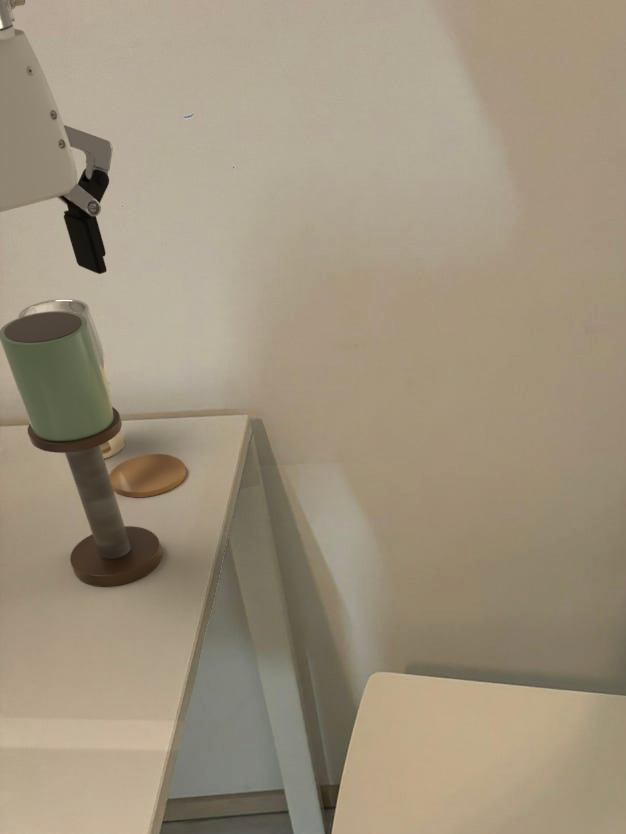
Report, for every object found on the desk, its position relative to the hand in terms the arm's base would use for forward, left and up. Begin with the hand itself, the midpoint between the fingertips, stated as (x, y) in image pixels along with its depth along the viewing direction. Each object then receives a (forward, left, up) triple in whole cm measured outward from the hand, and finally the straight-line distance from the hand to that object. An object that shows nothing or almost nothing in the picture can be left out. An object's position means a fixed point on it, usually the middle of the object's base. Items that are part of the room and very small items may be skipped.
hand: (34, 287), depth 69 cm
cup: (0, 0, -11) cm, 11 cm away
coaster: (-2, +14, -25) cm, 29 cm away
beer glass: (-10, +20, -25) cm, 34 cm away
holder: (0, 0, -25) cm, 25 cm away
